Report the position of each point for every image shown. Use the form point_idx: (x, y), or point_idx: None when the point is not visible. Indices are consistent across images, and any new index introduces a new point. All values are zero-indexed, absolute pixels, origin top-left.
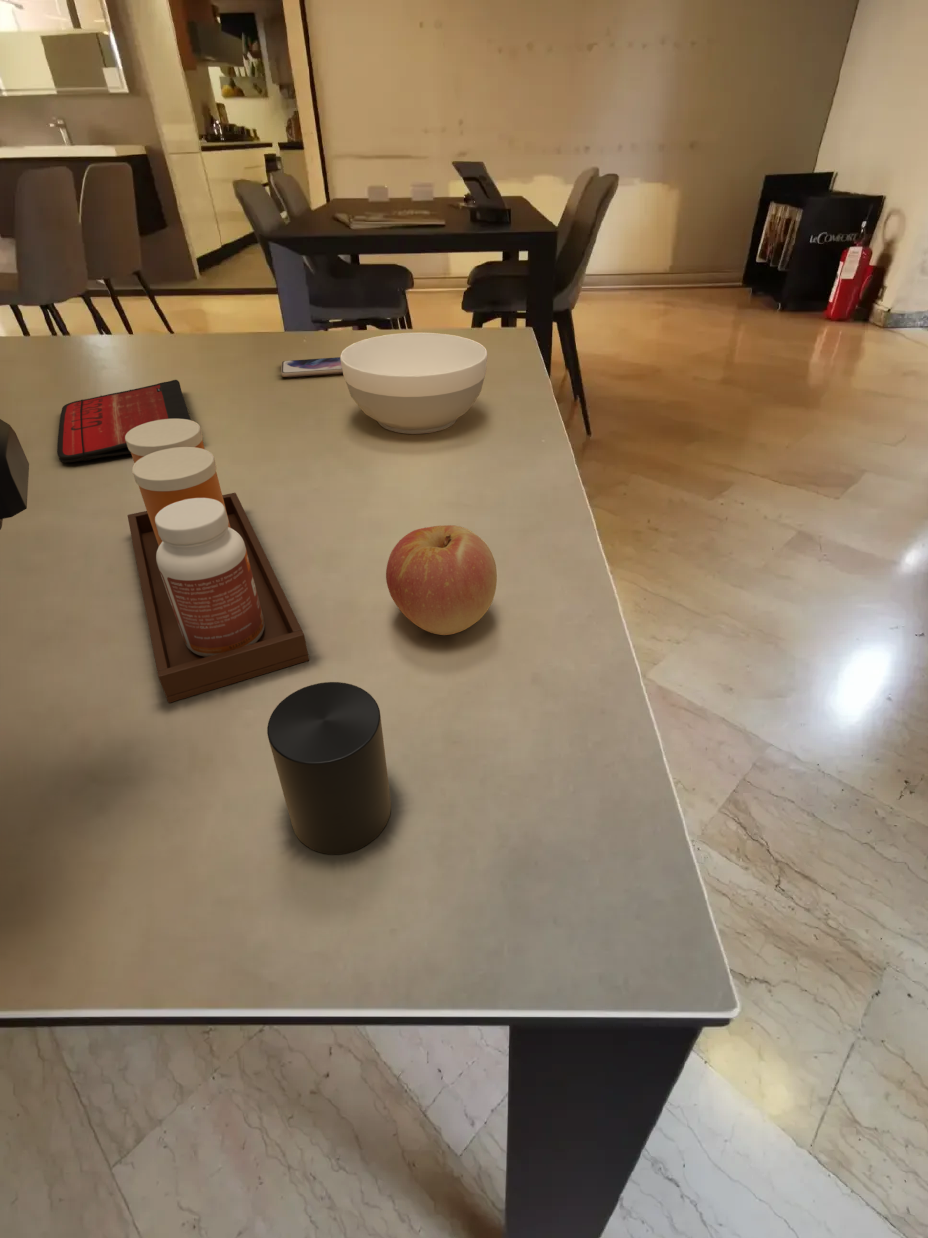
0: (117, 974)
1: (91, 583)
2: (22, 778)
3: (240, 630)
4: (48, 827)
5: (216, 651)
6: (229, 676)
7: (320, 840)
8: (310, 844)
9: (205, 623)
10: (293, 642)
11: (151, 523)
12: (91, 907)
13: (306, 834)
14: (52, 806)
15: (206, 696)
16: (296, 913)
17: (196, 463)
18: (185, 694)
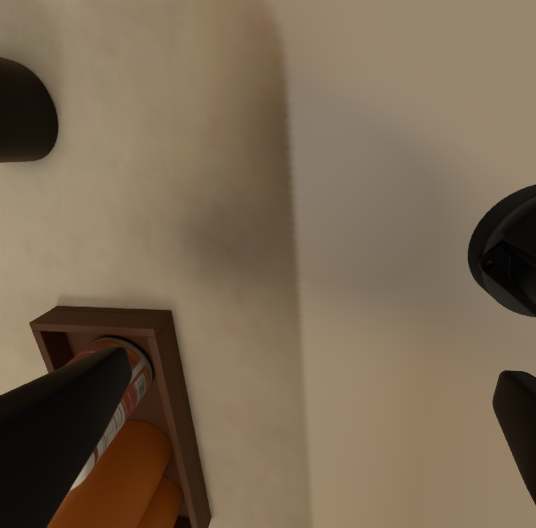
0: (194, 4)
1: (244, 482)
2: (288, 279)
3: (82, 352)
4: (263, 210)
5: (117, 344)
6: (113, 313)
7: (8, 63)
8: (29, 75)
9: None
10: (43, 320)
11: (131, 522)
12: (221, 96)
13: (17, 73)
14: (261, 233)
15: (140, 304)
16: (46, 7)
17: None
18: (154, 312)
